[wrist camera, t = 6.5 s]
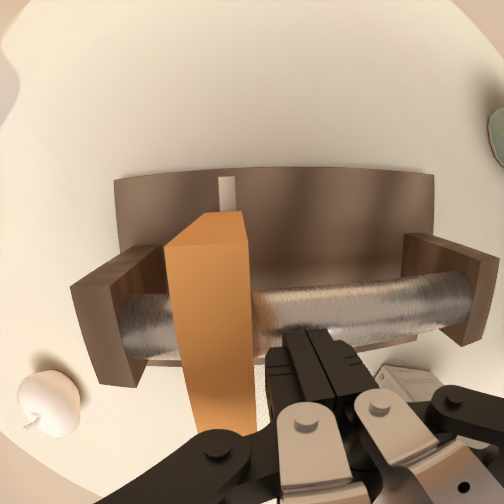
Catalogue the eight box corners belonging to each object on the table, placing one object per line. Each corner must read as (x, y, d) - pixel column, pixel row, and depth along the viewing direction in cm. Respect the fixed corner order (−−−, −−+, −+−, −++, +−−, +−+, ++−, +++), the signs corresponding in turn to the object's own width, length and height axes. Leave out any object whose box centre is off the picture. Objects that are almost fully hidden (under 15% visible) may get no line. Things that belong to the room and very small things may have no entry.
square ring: (241, 210, 15) (248, 242, 6) (248, 352, 17) (258, 467, 9) (205, 212, 15) (163, 246, 6) (217, 354, 17) (208, 468, 8)
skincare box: (352, 406, 24) (408, 521, 9) (384, 359, 22) (469, 473, 8) (406, 409, 25) (464, 497, 10) (435, 368, 24) (511, 451, 9)
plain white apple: (38, 345, 20) (-5, 388, 13) (94, 381, 21) (61, 436, 14) (38, 387, 22) (6, 428, 14) (88, 418, 23) (63, 467, 15)
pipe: (464, 260, 14) (498, 274, 11) (456, 307, 14) (486, 326, 11) (103, 283, 13) (73, 307, 10) (116, 337, 13) (93, 370, 10)
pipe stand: (423, 174, 19) (512, 177, 9) (408, 332, 22) (468, 390, 13) (122, 180, 18) (39, 180, 8) (148, 355, 21) (111, 438, 12)
